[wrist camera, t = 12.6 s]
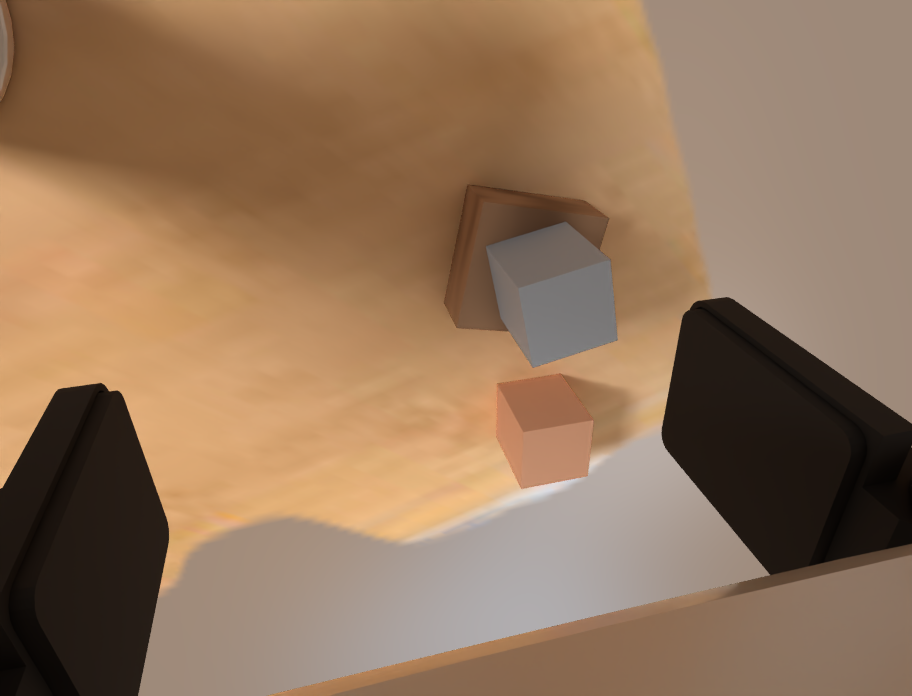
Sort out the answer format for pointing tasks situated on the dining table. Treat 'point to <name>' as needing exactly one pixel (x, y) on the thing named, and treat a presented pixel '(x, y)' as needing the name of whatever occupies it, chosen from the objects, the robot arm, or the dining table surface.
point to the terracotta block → (543, 430)
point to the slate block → (553, 292)
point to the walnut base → (498, 220)
